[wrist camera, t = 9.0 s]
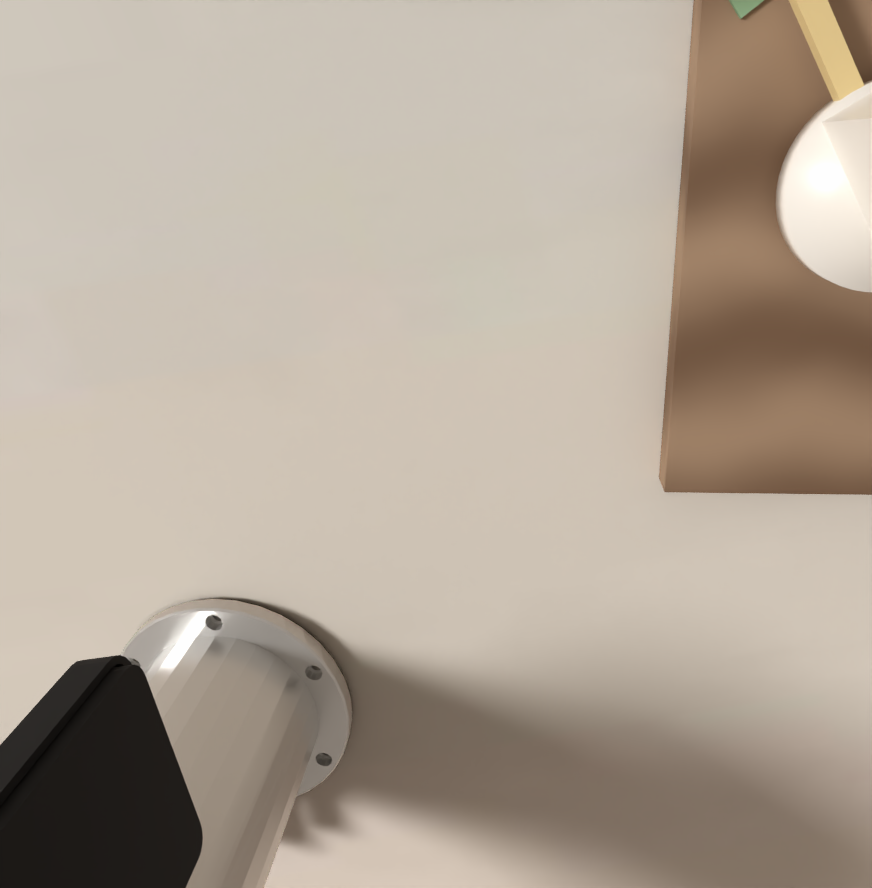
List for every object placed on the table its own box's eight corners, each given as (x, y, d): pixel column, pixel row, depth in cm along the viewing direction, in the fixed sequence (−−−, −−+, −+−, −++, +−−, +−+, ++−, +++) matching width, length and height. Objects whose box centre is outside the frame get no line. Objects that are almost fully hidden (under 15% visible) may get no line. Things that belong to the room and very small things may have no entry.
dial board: (978, 480, 32) (1001, 498, 30) (659, 477, 34) (665, 494, 32) (1149, -239, 23) (1193, -266, 22) (708, -199, 25) (720, -222, 23)
